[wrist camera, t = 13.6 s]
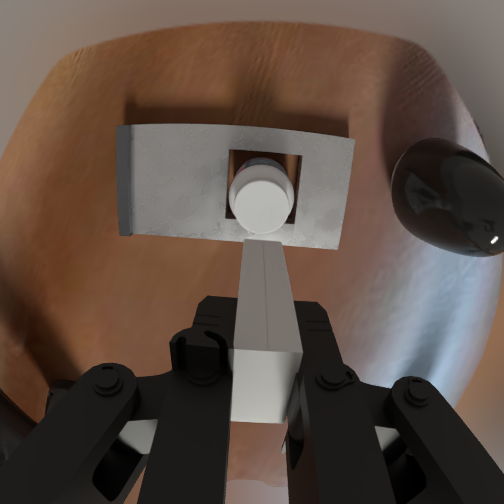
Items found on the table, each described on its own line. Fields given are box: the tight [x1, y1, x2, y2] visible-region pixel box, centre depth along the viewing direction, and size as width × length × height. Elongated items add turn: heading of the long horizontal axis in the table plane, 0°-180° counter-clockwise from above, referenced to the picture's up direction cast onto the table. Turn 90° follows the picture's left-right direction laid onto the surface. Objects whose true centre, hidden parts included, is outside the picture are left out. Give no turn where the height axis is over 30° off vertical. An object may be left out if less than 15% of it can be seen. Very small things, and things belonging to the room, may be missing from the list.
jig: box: [116, 124, 355, 250], centre depth 28 cm, size 22×11×3 cm, turn 86°
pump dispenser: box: [391, 138, 504, 257], centre depth 22 cm, size 10×10×15 cm
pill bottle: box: [229, 157, 294, 234], centre depth 25 cm, size 5×5×9 cm
